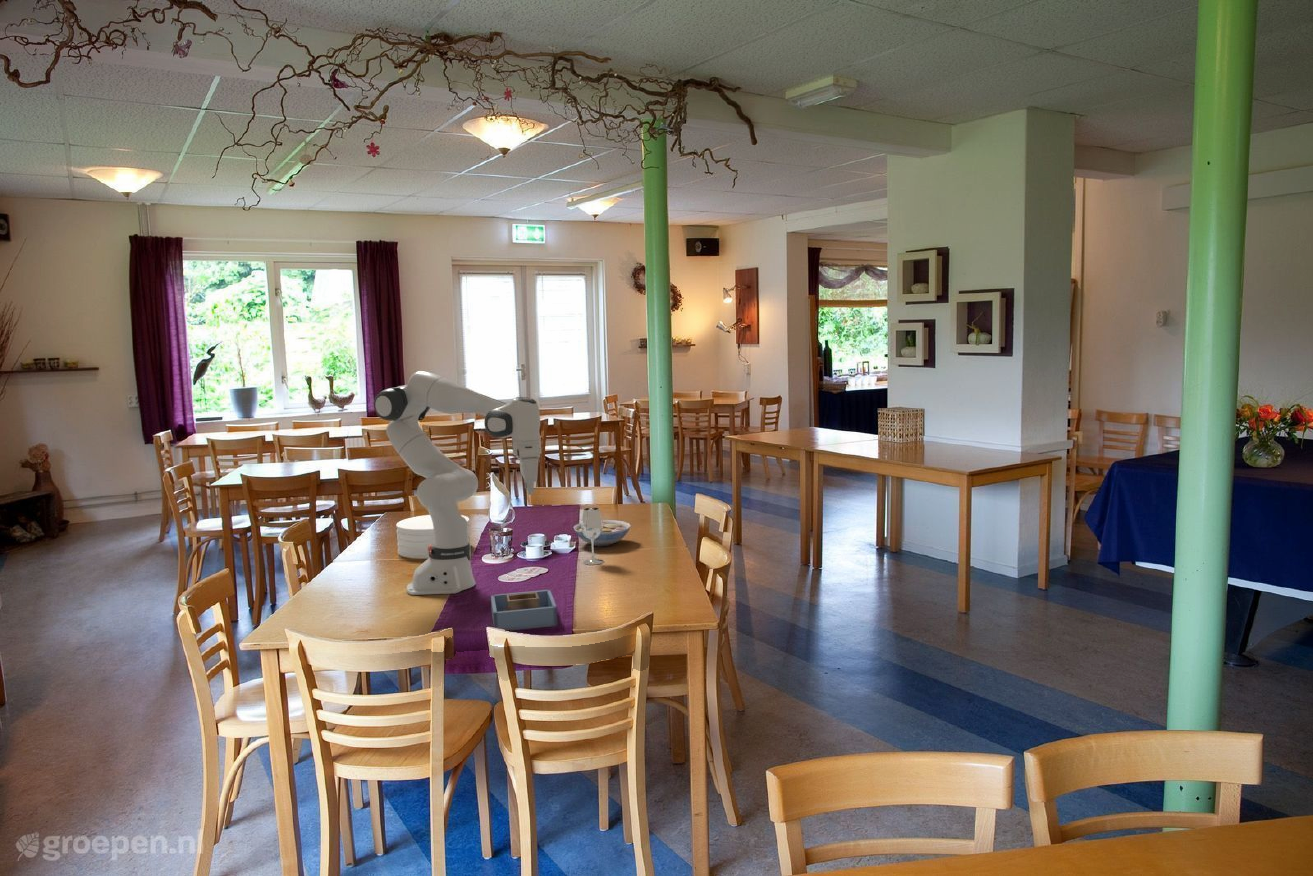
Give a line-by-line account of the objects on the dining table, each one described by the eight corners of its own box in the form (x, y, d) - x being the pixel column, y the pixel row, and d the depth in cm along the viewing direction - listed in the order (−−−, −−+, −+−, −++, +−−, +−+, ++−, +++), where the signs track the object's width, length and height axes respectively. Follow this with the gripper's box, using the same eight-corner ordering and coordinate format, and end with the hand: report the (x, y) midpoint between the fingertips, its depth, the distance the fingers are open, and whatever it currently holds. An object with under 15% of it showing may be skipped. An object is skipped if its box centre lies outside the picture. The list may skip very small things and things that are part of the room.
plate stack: (479, 541, 358) (478, 513, 357) (457, 558, 331) (455, 529, 329) (413, 541, 361) (412, 514, 360) (386, 558, 333) (384, 529, 332)
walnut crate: (508, 621, 254) (507, 601, 253) (507, 614, 260) (506, 595, 259) (539, 618, 256) (538, 598, 255) (537, 611, 262) (536, 592, 261)
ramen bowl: (629, 551, 334) (629, 530, 333) (570, 552, 334) (569, 532, 333) (632, 536, 359) (632, 516, 358) (577, 537, 359) (576, 518, 358)
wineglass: (604, 559, 324) (602, 506, 321) (603, 564, 316) (601, 510, 314) (583, 559, 323) (581, 507, 321) (582, 565, 316) (580, 511, 313)
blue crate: (494, 632, 247) (493, 613, 246) (491, 612, 265) (490, 595, 264) (557, 625, 251) (556, 607, 250) (550, 607, 269) (549, 589, 268)
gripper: (514, 445, 284) (516, 487, 285) (519, 453, 264) (521, 498, 266) (534, 444, 285) (536, 485, 287) (540, 452, 265) (542, 496, 267)
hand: (529, 491), depth 276 cm, fingers open, 8 cm apart
